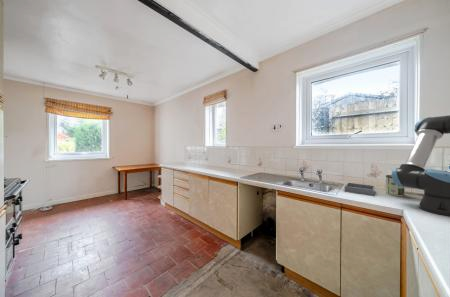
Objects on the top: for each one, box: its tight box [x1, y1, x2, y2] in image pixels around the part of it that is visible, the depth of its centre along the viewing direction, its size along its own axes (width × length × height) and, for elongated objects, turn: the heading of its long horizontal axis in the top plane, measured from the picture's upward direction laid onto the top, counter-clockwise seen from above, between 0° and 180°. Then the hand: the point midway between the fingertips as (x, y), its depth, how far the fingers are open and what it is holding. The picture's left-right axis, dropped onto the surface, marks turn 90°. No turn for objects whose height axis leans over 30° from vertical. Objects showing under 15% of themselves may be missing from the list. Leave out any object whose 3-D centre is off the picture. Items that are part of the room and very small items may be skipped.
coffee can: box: [385, 174, 406, 197], centre depth 127 cm, size 10×10×14 cm
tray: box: [344, 182, 376, 196], centre depth 137 cm, size 18×18×4 cm
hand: (398, 184), depth 127 cm, fingers open, 13 cm apart
